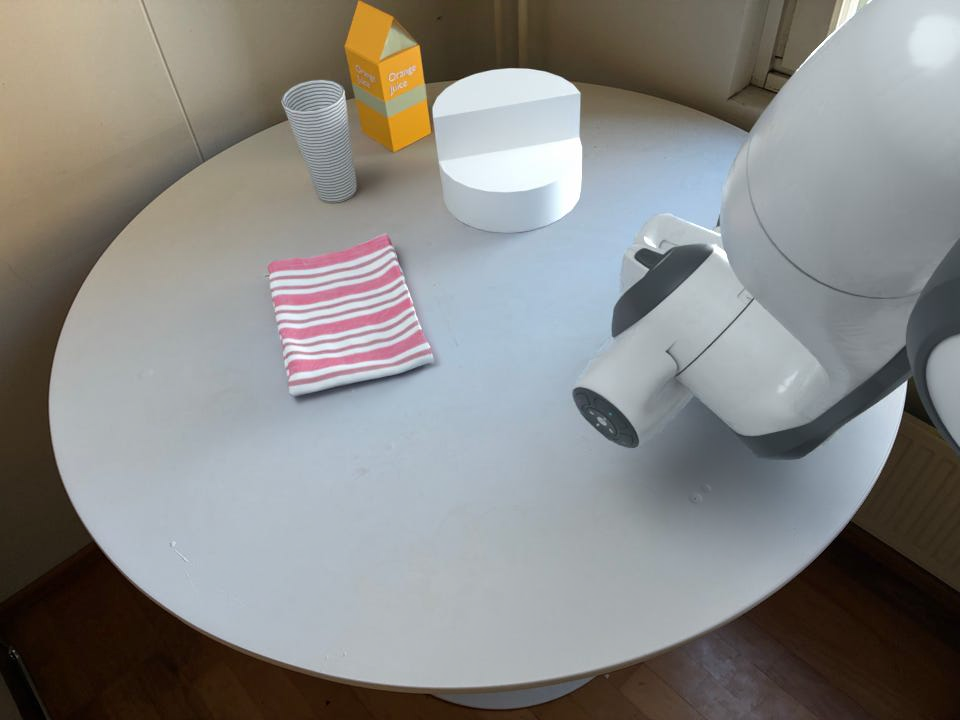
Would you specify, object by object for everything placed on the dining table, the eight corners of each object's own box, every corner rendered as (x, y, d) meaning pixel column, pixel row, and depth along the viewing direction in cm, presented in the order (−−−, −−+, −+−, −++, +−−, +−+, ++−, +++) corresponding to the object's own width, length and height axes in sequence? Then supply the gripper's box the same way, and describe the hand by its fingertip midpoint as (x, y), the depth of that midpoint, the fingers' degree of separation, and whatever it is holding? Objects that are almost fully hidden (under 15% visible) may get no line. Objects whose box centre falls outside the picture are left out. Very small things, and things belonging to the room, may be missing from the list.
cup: (299, 188, 115) (271, 93, 103) (349, 167, 118) (327, 72, 106) (323, 216, 110) (296, 118, 98) (375, 193, 113) (355, 96, 101)
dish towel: (393, 247, 104) (389, 226, 102) (437, 367, 89) (433, 347, 86) (269, 278, 102) (261, 257, 99) (291, 407, 86) (283, 387, 84)
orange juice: (393, 152, 120) (370, 26, 105) (361, 132, 124) (335, 8, 110) (432, 132, 123) (415, 6, 108) (399, 113, 128) (379, -10, 113)
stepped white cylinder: (455, 244, 104) (445, 159, 94) (433, 163, 117) (422, 81, 107) (598, 218, 105) (603, 132, 95) (560, 141, 118) (560, 58, 109)
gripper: (817, 337, 63) (883, 248, 70) (609, 244, 73) (685, 174, 80) (799, 386, 68) (863, 299, 75) (606, 293, 78) (677, 223, 84)
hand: (769, 234), depth 77 cm, fingers closed on supplement box, 4 cm apart
